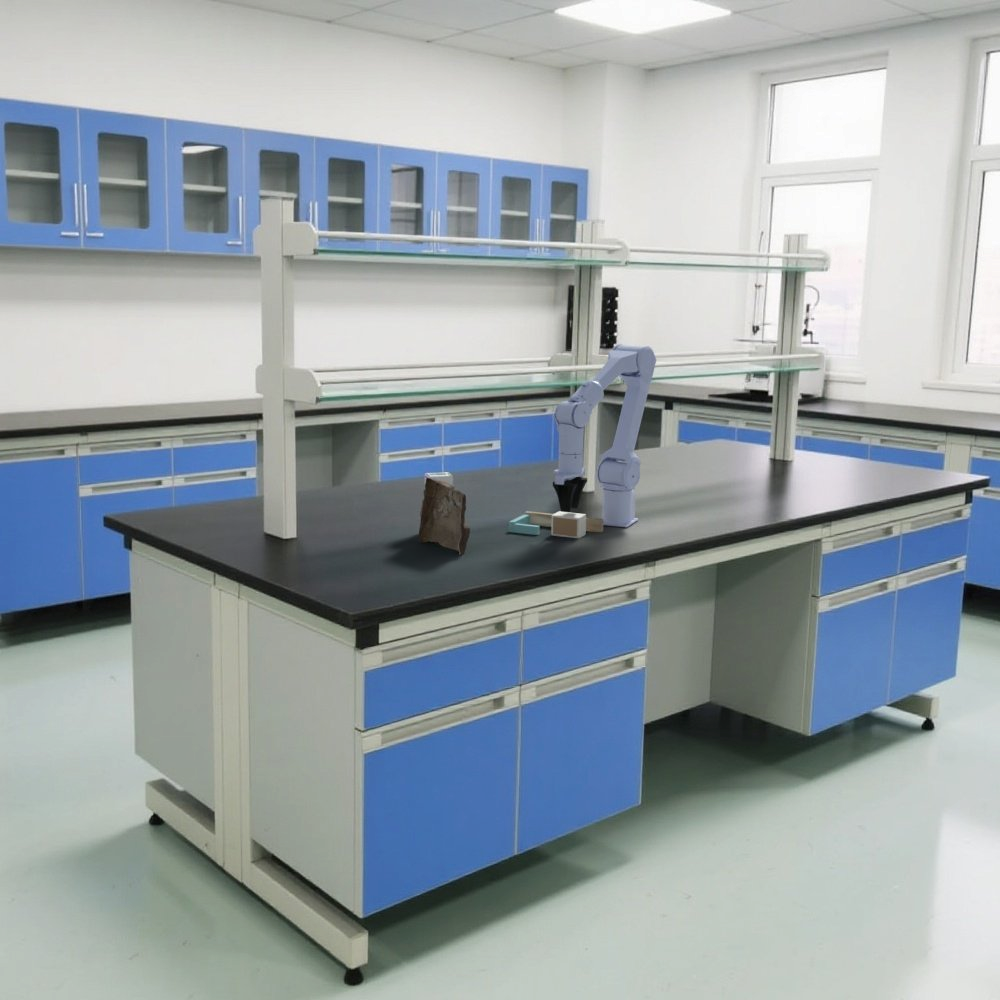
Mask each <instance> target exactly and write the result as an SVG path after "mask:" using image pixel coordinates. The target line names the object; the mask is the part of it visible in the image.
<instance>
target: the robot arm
mask: <svg viewBox="0 0 1000 1000" xmlns="http://www.w3.org/2000/svg"><path fill="white" fill-rule="evenodd" d="M607 356H608V357H607V359H608V360H607V361H606V362H605V363H604V365H603V366H602V368H601V369H600V371H598V372H597V374H596V375H595V377H594V378H593V379H592V380H591V379H590V380H586V381H583V382H582V383H581V384H580V387H579V388H577V389H576V391H575V392H574V393H573V394H572V395H570V398H568V400H565V401H561V402H560V403H559V404H558V405H557V406H556V409H555V411H554V413H553V419H554V422H555V423H556V430H557V433H558V462H557V463H558V464H557V465H558V468H557V469H555V470H553V474H556V475H554V481H552V487H553V489H554V491H555V493H556V495H557V499H558V504H559V508H560V511H561V512H570V513H571V511H572V510H571V509H578V508H579V505H580V501H581V496H582V493H583V491H584V488H585V486H586V484H587V482H588V478H587V477H583V476H585V475H586V467H585V466H583V462H584V431H585V430H584V429H585V428H584V427H586V425H588V424H589V421H590V417H591V414H592V413H593V410H594V409H595V407H596V406H597V405H598V404H599V403H600V402H601V400H602V399H603V398H604V395H605V393H604V390H606V388H607V387H608V386H610V385H611V384H612V383H613V382H614V381H615V380H616V379H617V378H619V377H620V379H621V380H622V381H624V383H625V384H626V390H625V394H624V398H623V402H622V406H621V410H620V414H619V419H618V423H617V426H616V427H617V428H616V432H615V436H614V438H613V439H614V440H613V444H612V447H611V448H609V449H607V450H606V451H604V452H603V453H602V457H601V460H600V461H599V463H598V465H597V467H596V470H595V473H596V474H595V475H596V479H597V482H598V483H599V484H600V488H602V508H601V509H602V510H601V513H602V514H601V519H603V526H608V527H610V526H612V527H619V528H628V527H630V526H631V525H633V524H634V523H637V521H639V518H637V517H636V515H635V514H636V494H635V492H634V490H635V488H636V487H637V485H638V484H639V481H640V479H641V478H640V477H641V470H640V469H641V464H642V461H641V459H640V458H639V457H638V455H637V454H636V453H635V452H634V451H635V449H636V443H637V440H638V436H639V431H640V427H641V422H642V419H643V414H644V411H645V407H646V402H647V398H648V395H649V394H648V393H649V390H650V387H651V382H652V380H653V376H654V371H655V368H656V364H657V358H656V355H655V353H654V350H653V349H652V347H650V346H649V345H644V346H641V345H639V346H638V345H627V344H626V345H623V344H621V343H619V344H615V345H614V346H613V348H612V349H611V350H610V351H609V352H608V355H607Z"/></svg>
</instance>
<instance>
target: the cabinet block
mask: <svg viewBox="0 0 1000 1000" xmlns="http://www.w3.org/2000/svg"><path fill="white" fill-rule="evenodd" d="M552 514H553V515H552V518H551V527H550V529H551V531H550V532H551V533H550V534H551V535H550V536H556V537H564V538H565V537H566V538H572V539H573V538H574V539H580V538H582V537H585V535H586V532H587V531H586V517H587V514H586V513H577V512H571V511H570V512H561V510H559V511H557V512H555V513H552Z"/></svg>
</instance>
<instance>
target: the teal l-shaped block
mask: <svg viewBox="0 0 1000 1000" xmlns="http://www.w3.org/2000/svg"><path fill="white" fill-rule="evenodd" d="M540 529H541V526H538V525H530V515H528V514H525V513H524V514H522V515H520V516H518V517H515V518H513V519H512V520H509V522H508V532H509V533H517V534H525V535H532V536H534V535H535V536H538V535H540V534H541V533H540V532H541V531H540Z"/></svg>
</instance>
